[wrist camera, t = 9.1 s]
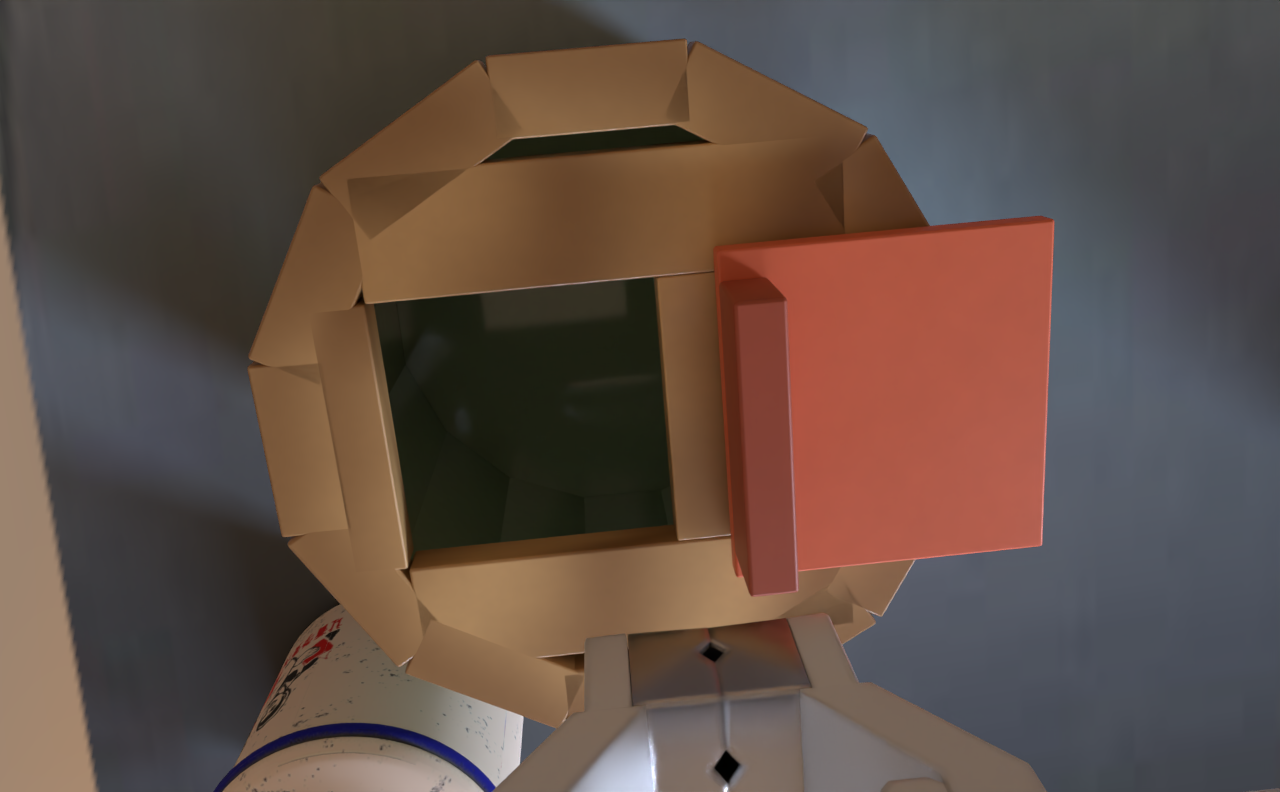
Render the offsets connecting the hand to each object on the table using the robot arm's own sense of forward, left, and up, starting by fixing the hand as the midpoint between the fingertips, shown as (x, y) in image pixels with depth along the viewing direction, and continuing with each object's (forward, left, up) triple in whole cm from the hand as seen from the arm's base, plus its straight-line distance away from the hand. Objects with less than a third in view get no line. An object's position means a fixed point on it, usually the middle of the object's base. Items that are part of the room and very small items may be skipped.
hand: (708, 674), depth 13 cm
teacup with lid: (+10, +15, -22) cm, 28 cm away
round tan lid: (+1, 0, -11) cm, 11 cm away
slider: (-5, 0, -10) cm, 11 cm away
